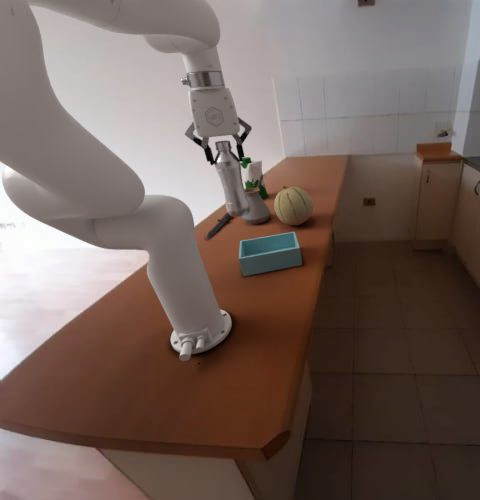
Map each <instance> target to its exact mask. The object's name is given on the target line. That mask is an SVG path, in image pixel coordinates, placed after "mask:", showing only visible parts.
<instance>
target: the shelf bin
mask: <svg viewBox="0 0 480 500" xmlns="http://www.w3.org/2000/svg"><path fill="white" fill-rule="evenodd" d="M301 253H302V252H301V247H300V244H299V241H298V237H297V234H296V231H290V232H284V233H279V234H272V235H266V236H262V237H255V238H249V239H242V240H240V241H239V252H238V262H239V265H240V269H241V272H242V275H243V277H246V276H252V275H258V274H262V273H268V272H273V271H278V270H284V269H289V268H293V267H298V266H302V265H303V259H302V254H301Z"/></svg>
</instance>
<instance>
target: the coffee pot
mask: <svg viewBox="0 0 480 500" xmlns="http://www.w3.org/2000/svg"><path fill="white" fill-rule="evenodd" d="M262 177H263V178H264V179H265V178H267V176H266V175H265V174H262V175H261V177H260V180H259V182H258V185H257V188H249V189H246V188H245V193H246V196H247V198H248V200H249V203H250V208H251V210H250V212H249V214H247V215H245V216H241V217H242V220H244V221H245V222H246V223H248V224H250V225H259V224H263V223H265V222H267V221H268V219H269V218H270V216H271V214H272V213H271V212H272V211H271V210H270V208H269V207H268V205H267V203H266V202H265V201H264V199H262V198H261V197H260V195H259V192H260V189H259V187H260V185H261V182H262V179H263V178H262Z"/></svg>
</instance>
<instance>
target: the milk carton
mask: <svg viewBox="0 0 480 500" xmlns="http://www.w3.org/2000/svg"><path fill="white" fill-rule="evenodd" d="M242 159H243V161H242V162H240V164H241V165H240V166H241V174H242V178H243V182H244V186H245V190H246V189H249V188H257V185H258V182H259V180H260V177H261V175H262V174H263V160H260V159H251V157H249V156H247V157H246V156H245V157H243V158H242ZM263 175H264V174H263ZM262 178H263V179H262V182H261V185H260V187H259V189H260V192H259V195H260V197H261V198H262V200H264V199H266V198H268V192H267V188H266V184H265V177H264V176H263V177H262Z"/></svg>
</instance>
